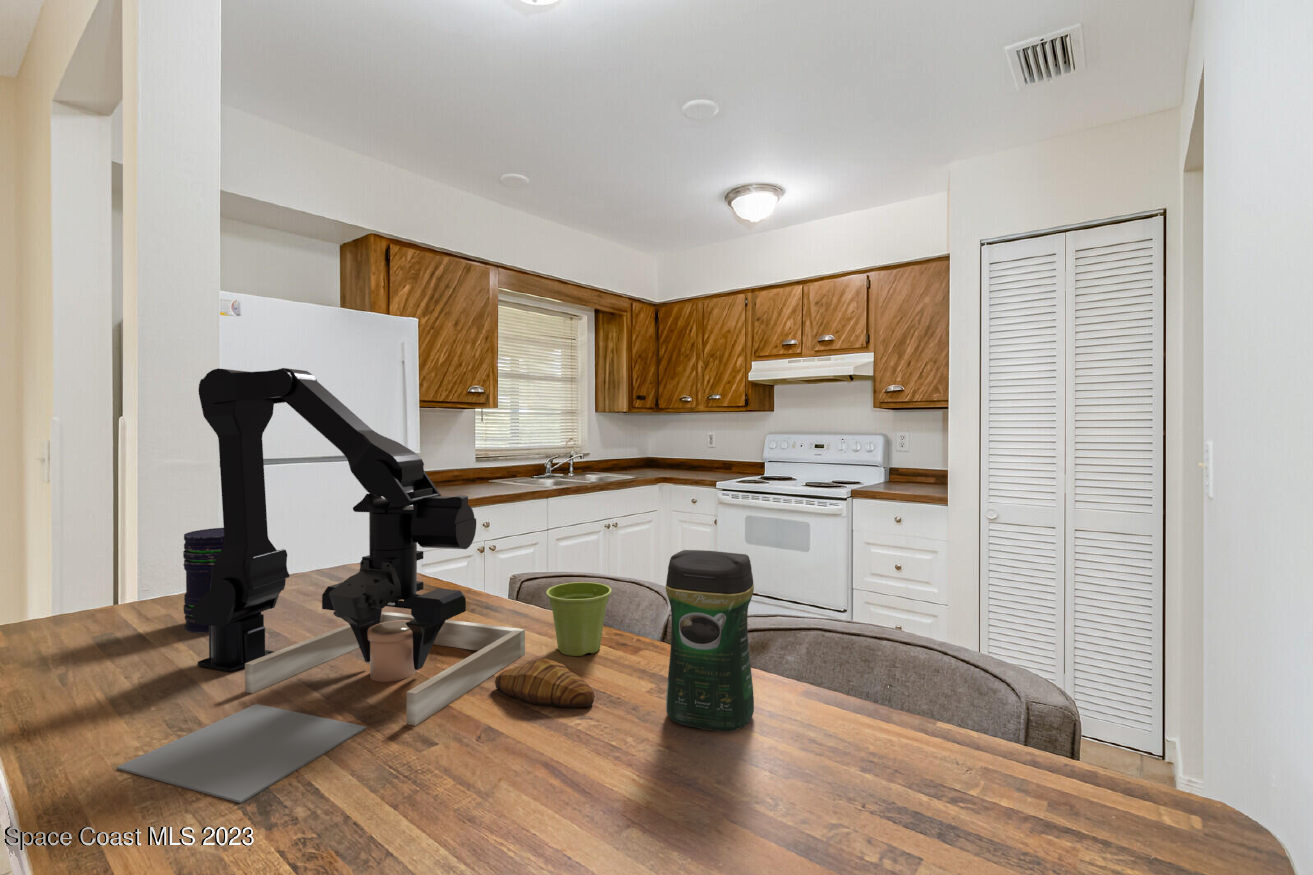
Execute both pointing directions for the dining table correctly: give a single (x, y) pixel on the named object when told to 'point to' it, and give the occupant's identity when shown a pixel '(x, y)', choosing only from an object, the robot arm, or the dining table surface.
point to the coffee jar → (710, 640)
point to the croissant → (545, 685)
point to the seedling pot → (391, 651)
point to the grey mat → (243, 752)
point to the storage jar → (199, 569)
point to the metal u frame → (424, 699)
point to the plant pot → (579, 615)
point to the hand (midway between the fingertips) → (393, 665)
